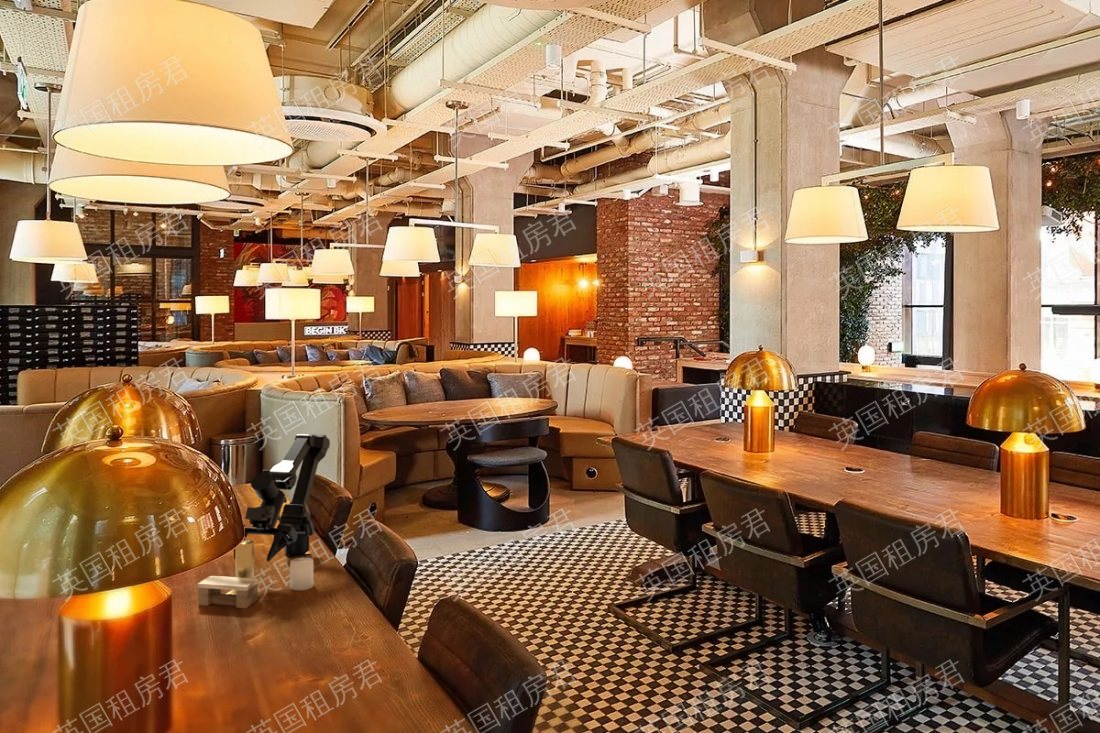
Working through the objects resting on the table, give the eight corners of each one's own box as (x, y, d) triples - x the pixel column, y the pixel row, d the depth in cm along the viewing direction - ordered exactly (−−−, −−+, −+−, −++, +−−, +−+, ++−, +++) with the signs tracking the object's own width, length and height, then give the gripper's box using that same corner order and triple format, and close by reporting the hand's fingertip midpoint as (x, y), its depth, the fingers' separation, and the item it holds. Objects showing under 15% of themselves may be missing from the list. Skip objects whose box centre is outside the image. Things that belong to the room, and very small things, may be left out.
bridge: (210, 596, 195) (210, 575, 195) (258, 599, 194) (258, 578, 193) (197, 605, 189) (197, 583, 189) (246, 608, 188) (246, 586, 188)
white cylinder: (309, 581, 208) (309, 556, 208) (316, 587, 203) (316, 562, 203) (287, 584, 205) (287, 559, 204) (293, 591, 200) (293, 566, 199)
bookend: (239, 586, 203) (239, 538, 202) (260, 587, 202) (260, 540, 201) (216, 601, 192) (216, 551, 191) (239, 603, 191) (239, 553, 190)
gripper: (228, 492, 208) (206, 544, 198) (292, 495, 206) (274, 548, 196) (242, 512, 216) (222, 563, 206) (305, 516, 214) (288, 567, 204)
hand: (251, 559), depth 203 cm, fingers open, 9 cm apart
